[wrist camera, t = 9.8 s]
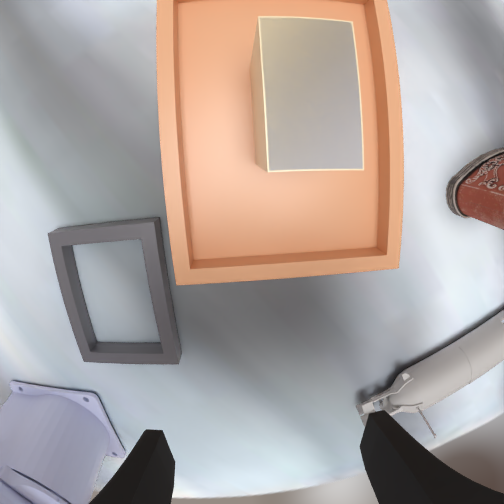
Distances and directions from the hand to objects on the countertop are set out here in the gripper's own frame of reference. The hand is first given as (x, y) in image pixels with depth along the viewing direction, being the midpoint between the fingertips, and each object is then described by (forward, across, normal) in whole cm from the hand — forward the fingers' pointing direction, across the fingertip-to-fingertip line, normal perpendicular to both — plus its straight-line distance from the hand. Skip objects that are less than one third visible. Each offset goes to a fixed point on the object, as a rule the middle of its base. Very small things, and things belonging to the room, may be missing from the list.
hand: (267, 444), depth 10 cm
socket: (+9, +8, -2) cm, 13 cm away
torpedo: (+10, -16, +5) cm, 19 cm away
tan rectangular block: (+9, -2, -11) cm, 14 cm away
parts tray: (+9, -2, -11) cm, 15 cm away
